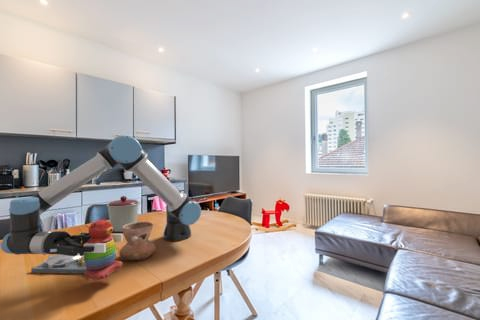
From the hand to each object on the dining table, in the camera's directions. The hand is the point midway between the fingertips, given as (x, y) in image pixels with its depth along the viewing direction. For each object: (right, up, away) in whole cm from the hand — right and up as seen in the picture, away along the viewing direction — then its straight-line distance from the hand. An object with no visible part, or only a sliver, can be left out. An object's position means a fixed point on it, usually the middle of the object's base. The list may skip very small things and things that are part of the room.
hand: (114, 242), depth 75 cm
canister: (-29, -15, +61) cm, 69 cm away
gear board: (-24, -15, +15) cm, 32 cm away
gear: (-29, -13, +16) cm, 35 cm away
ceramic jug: (-2, -15, +22) cm, 27 cm away
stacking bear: (-4, -10, 0) cm, 11 cm away
